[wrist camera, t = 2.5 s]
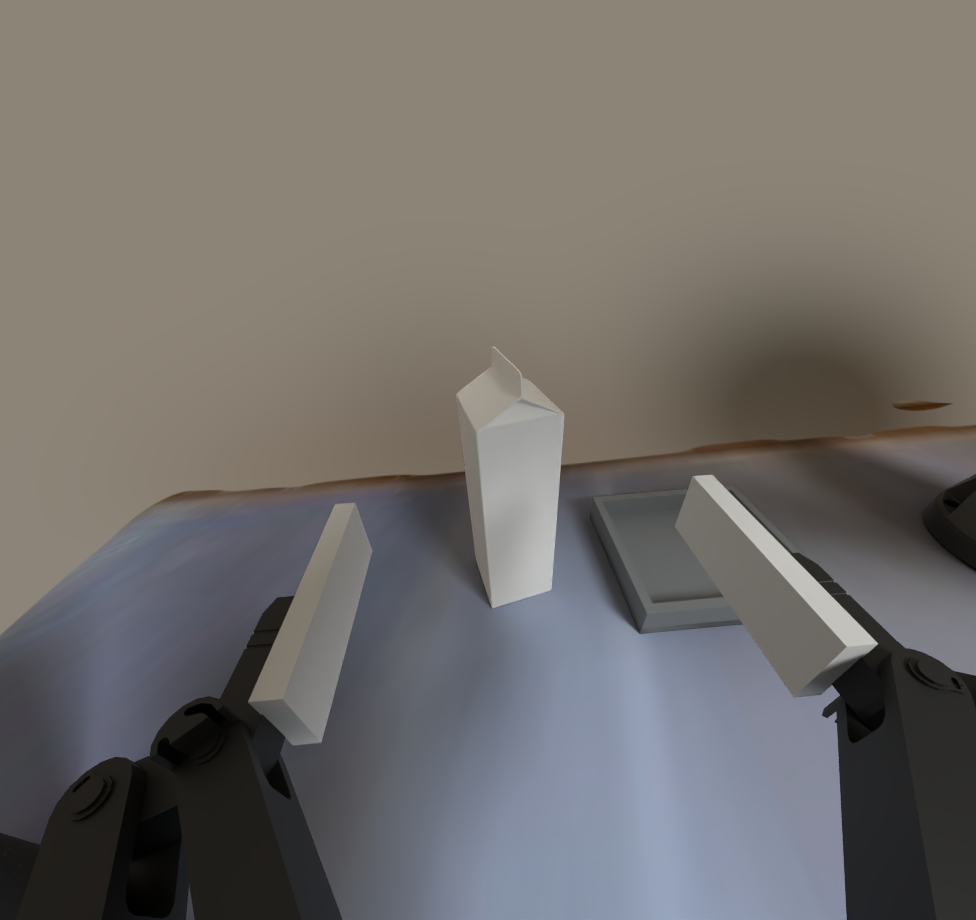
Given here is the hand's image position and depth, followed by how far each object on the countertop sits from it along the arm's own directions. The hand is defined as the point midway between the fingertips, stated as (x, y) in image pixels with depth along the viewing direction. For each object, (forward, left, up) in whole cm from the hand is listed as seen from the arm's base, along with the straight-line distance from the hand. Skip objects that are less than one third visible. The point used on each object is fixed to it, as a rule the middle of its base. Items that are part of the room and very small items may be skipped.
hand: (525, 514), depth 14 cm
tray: (-18, -12, -20) cm, 29 cm away
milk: (0, -12, -20) cm, 23 cm away
